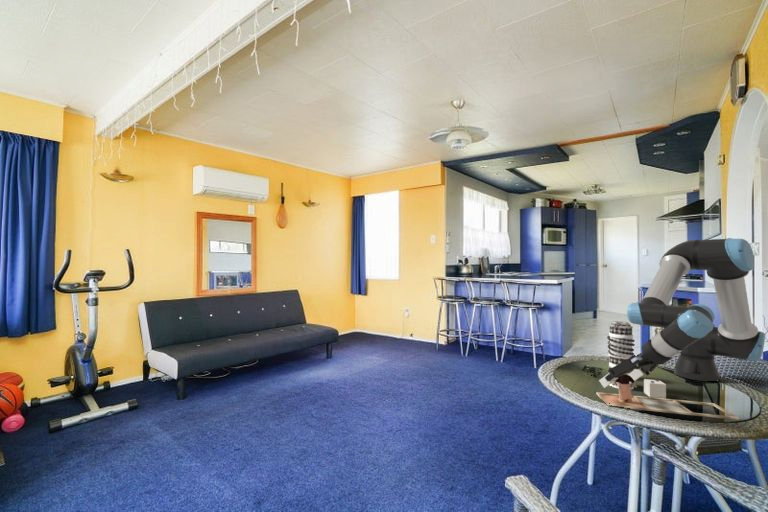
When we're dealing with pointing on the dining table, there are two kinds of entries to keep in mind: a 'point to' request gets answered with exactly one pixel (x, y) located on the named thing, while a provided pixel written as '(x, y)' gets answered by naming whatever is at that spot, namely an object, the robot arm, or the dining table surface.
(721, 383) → the dining table surface
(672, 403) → the wooden flat rectangular frame
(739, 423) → the dining table surface
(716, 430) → the dining table surface
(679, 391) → the dining table surface
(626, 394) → the grandmother figurine
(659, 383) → the ivory die
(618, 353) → the decorative candle
